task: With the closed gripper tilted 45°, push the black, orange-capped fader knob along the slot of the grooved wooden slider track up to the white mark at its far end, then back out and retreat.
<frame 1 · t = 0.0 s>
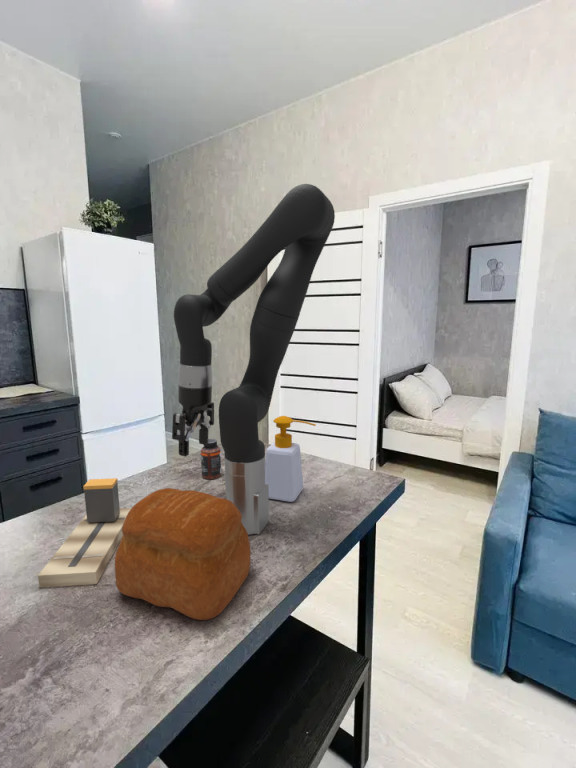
hand: (194, 449, 94), 17 cm above the table, tool pointing down, fingers open, 8 cm apart
bread: (186, 584, 73), on the table
supplement bottle: (211, 476, 120), on the table
grooved wooden slider track: (93, 547, 84), on the table
fader knob: (102, 500, 89), point 7 cm above the table, slide at -7.0 cm
soap bottle: (290, 495, 108), on the table
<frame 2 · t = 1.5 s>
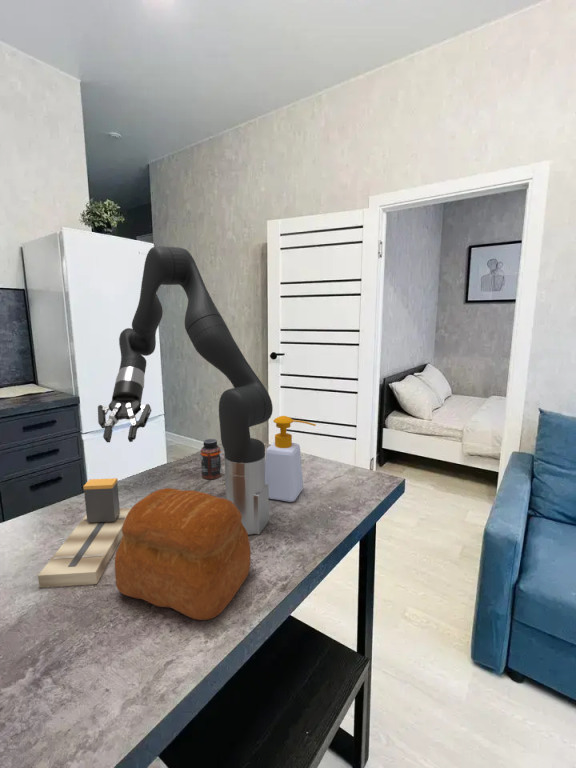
hand: (119, 440, 101), 17 cm above the table, tool tilted 45°, fingers open, 5 cm apart
nothing on the table moved.
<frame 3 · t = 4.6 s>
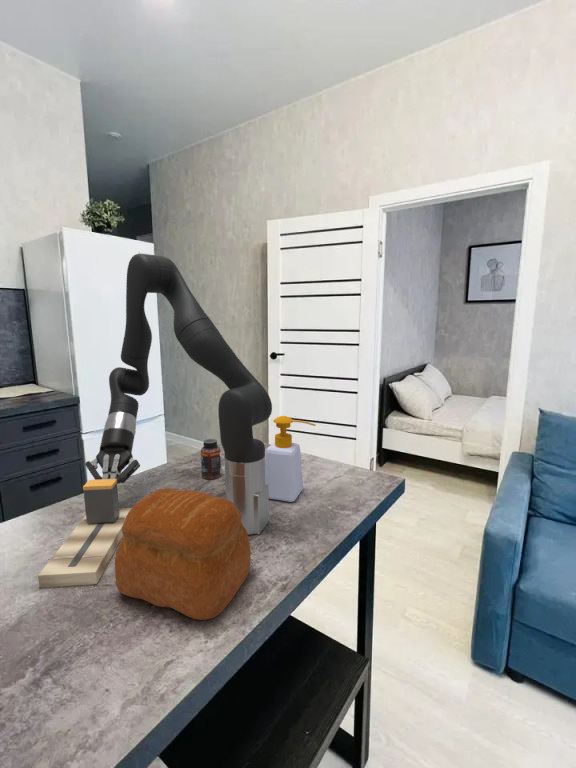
hand: (106, 499, 91), 6 cm above the table, tool tilted 45°, fingers closed
fader knob: (101, 500, 89), point 7 cm above the table, slide at -6.7 cm, touching gripper
everything else where it was.
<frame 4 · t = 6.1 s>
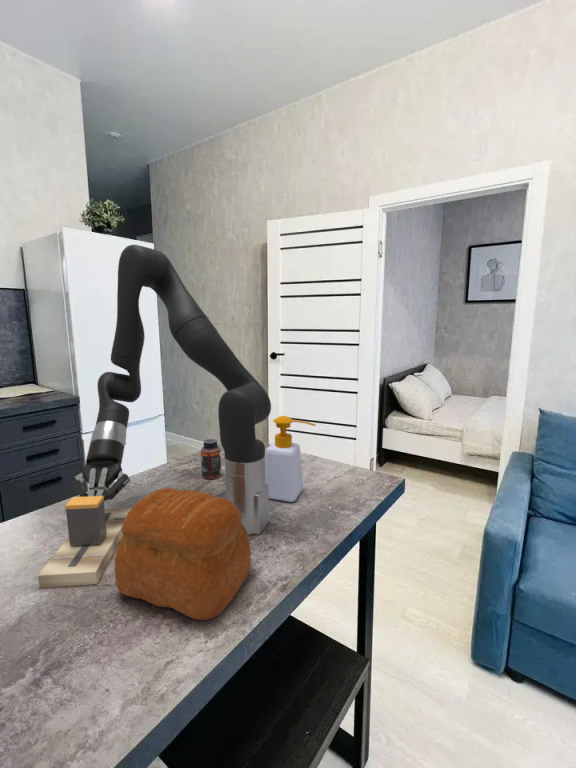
hand: (92, 518, 83), 6 cm above the table, tool tilted 45°, fingers closed
fader knob: (86, 520, 80), point 7 cm above the table, slide at 1.8 cm, touching gripper
everything else where it was.
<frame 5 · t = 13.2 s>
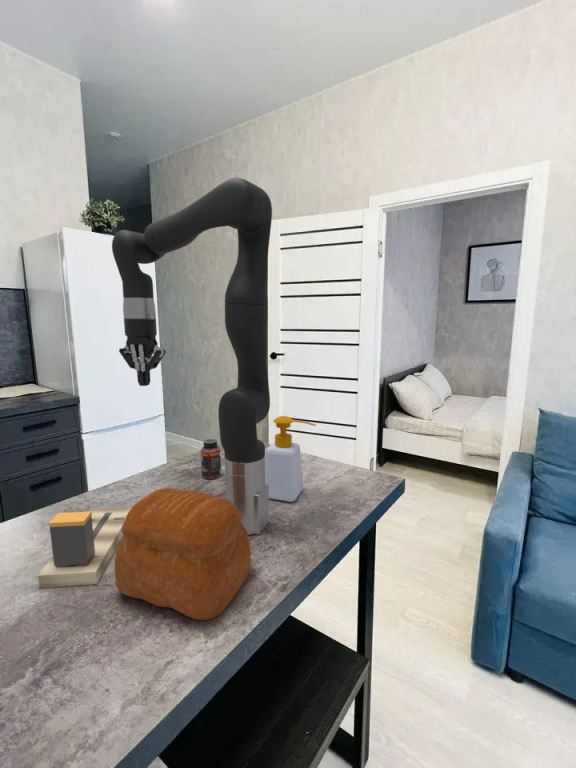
hand: (144, 385, 100), 31 cm above the table, tool pointing down, fingers closed
fader knob: (73, 538, 74), point 7 cm above the table, slide at 8.4 cm
everything else where it was.
at the end: fader knob slide at 8.4 cm; bread moved 0.3 cm from its start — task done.
